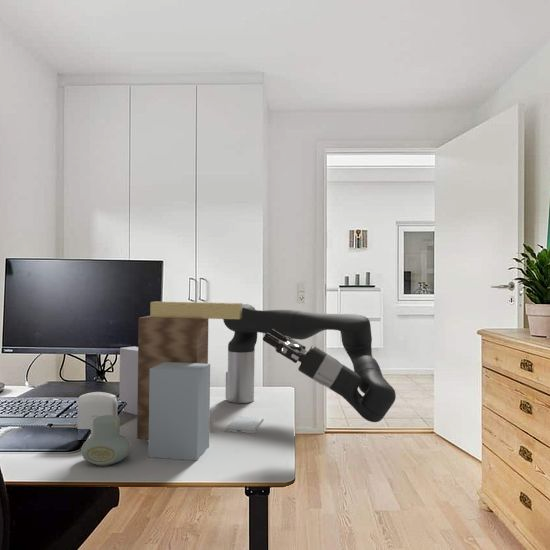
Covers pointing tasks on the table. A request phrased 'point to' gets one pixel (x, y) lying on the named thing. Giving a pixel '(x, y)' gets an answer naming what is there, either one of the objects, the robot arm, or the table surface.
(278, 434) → the table surface
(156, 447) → the block
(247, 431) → the hard drive
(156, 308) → the bar
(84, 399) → the photo printer
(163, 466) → the table surface
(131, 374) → the game console
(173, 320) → the stand
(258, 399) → the table surface
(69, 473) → the table surface
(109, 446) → the air freshener
